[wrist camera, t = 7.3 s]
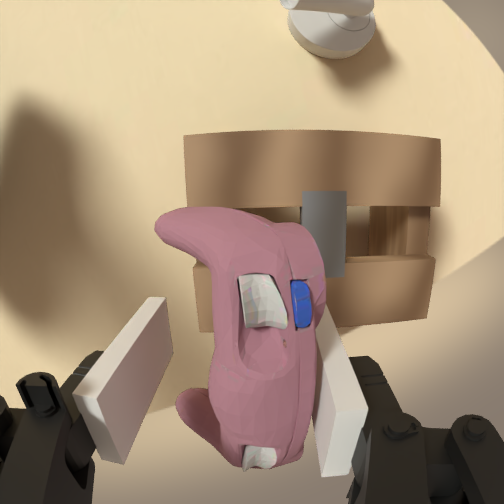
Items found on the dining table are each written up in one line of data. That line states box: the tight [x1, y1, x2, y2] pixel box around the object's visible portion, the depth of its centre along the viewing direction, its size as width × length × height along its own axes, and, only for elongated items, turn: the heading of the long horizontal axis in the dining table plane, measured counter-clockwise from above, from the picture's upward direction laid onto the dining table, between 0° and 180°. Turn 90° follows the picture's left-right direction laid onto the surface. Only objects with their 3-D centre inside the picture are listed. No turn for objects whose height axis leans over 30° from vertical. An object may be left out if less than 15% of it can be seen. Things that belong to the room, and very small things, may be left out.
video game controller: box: [155, 207, 326, 472], centre depth 11 cm, size 10×5×7 cm, turn 0°
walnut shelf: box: [184, 130, 441, 332], centre depth 26 cm, size 18×14×10 cm
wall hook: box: [280, 0, 376, 59], centre depth 21 cm, size 9×10×10 cm
